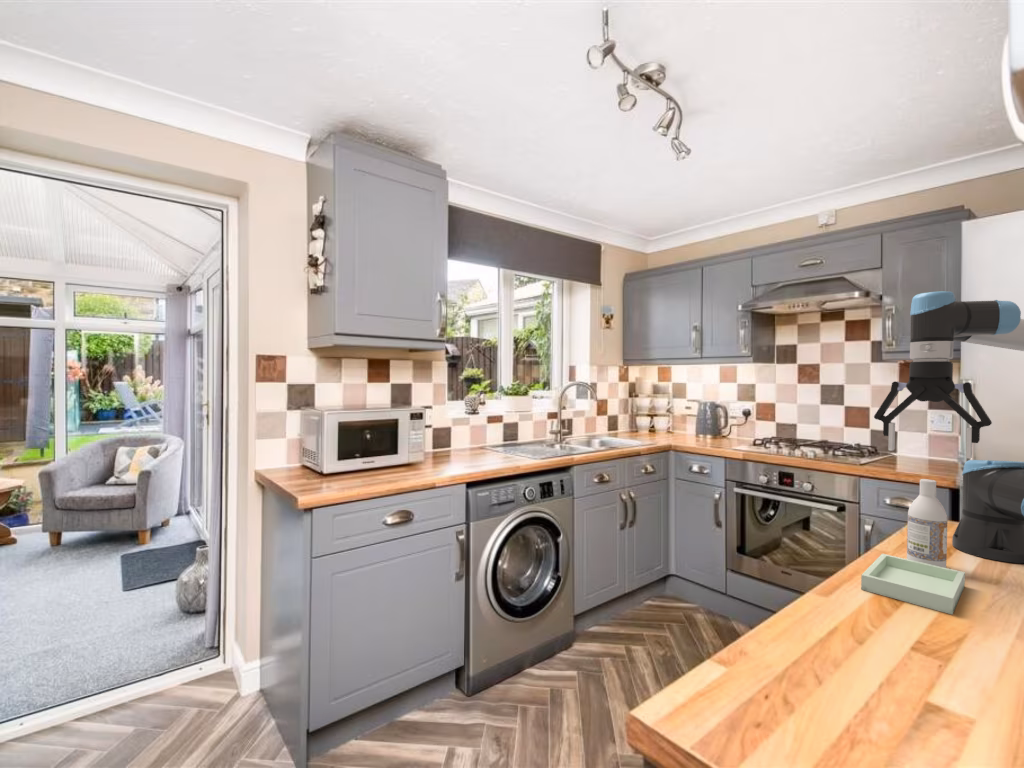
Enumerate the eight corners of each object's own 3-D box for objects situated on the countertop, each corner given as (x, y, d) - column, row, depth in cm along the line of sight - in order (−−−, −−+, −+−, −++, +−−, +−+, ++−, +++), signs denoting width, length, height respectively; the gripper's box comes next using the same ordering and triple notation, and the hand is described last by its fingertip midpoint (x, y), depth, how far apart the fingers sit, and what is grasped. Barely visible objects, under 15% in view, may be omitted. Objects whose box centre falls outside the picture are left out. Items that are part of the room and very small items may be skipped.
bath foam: (944, 575, 107) (946, 485, 107) (904, 566, 112) (906, 480, 112) (947, 567, 112) (949, 480, 112) (909, 558, 117) (911, 475, 117)
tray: (881, 566, 112) (882, 553, 112) (964, 586, 102) (964, 572, 102) (861, 589, 100) (861, 574, 100) (952, 614, 90) (953, 598, 90)
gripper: (860, 361, 118) (858, 448, 118) (1007, 359, 99) (1004, 463, 100) (868, 361, 123) (866, 445, 123) (1009, 360, 104) (1007, 459, 105)
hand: (928, 453), depth 112 cm, fingers open, 13 cm apart
